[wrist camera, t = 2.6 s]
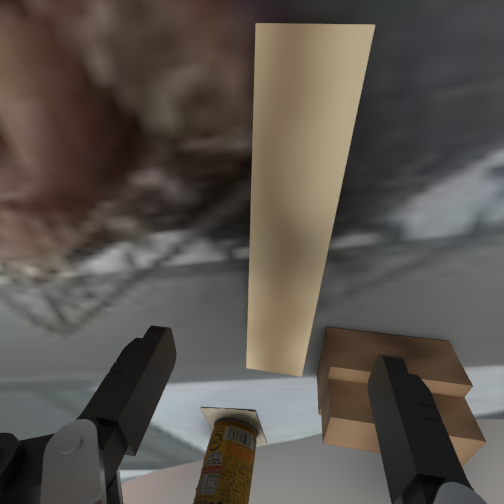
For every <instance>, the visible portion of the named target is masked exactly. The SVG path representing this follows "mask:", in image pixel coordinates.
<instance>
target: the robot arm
mask: <svg viewBox="0 0 504 504" xmlns="http://www.w3.org/2000/svg"><path fill="white" fill-rule="evenodd" d="M175 361H176V348H175V343H174V339H173V334H172V330H171V328H168V327H160V326H151V327H150V328H149V329H148V330H147V332H146V334H145V335H144V337H143V338H135V339H134V340H133V341H132V342H130V343H129V344H128V345H127V346H126V347H125V348H124V349H123V351H122V352H121V354H120V355H119V357H118V358H117V361H116V362H115V363H114V364H113V366H112V368H111V369H110V372H109V373H108V374H107V375H106V377H105V378H104V380H103V381H102V383H101V384H100V386H99V388H98V389H97V391H96V392H95V394H94V395H93V397H92V398H91V400H90V401H89V403H88V404H87V406H86V408H85V409H84V411H83V412H82V413H81V415H80V416H79V417H78V418H77V419H76V420H75V421H72V422H70V423H68V424H66V425H65V426H63V427H62V428H60V429H59V430H58V431H57V432H56V433H54V434H50V435H46V436H41V437H36V438H31V439H26V440H20V441H19V440H18V439H17V438H16V437H15V436H14V435H13V434H11V433H0V504H123V496H122V488H121V480H120V472H119V465H120V463H121V461H122V459H123V457H124V455H131V456H135V455H136V453H137V451H138V448H139V446H140V444H141V441H142V439H143V437H144V434H145V432H146V430H147V428H148V425H149V423H150V421H151V418H152V416H153V414H154V411H155V409H156V407H157V405H158V402H159V400H160V398H161V395H162V393H163V391H164V388H165V386H166V384H167V382H168V379H169V377H170V375H171V372H172V370H173V368H174V365H175ZM368 395H369V400H370V405H371V410H372V414H373V419H374V424H375V428H376V433H377V438H378V442H379V447H380V452H381V456H382V461H383V465H384V470H385V475H386V479H387V484H388V489H389V493H390V498H391V503H392V504H487V503H486V502H485V501H484V500H483V499H482V498H481V497H480V496H479V495H478V494H477V493H476V492H475V491H474V490H473V488H472V487H471V485H470V484H469V482H468V480H467V478H466V475H465V473H464V471H463V468H462V466H461V463H460V461H459V459H458V456H457V454H456V451H455V449H454V447H453V444H452V442H451V439H450V437H449V435H448V432H447V430H446V427H445V425H444V423H443V422H442V418H441V415H440V413H439V410H438V409H437V406H436V403H435V401H434V398H433V396H432V394H431V391H430V389H429V388H428V387H427V386H426V384H425V383H424V382H423V381H422V379H421V378H420V377H419V376H418V375H414V374H409V373H408V370H407V367H406V364H405V362H404V360H403V359H402V358H401V357H397V356H388V355H380V354H379V355H378V356H377V358H376V361H375V364H374V366H373V369H372V371H371V374H370V376H369V379H368Z"/></svg>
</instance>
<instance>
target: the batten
mask: <svg viewBox="0 0 504 504" xmlns="http://www.w3.org/2000/svg"><path fill="white" fill-rule="evenodd" d="M374 29H375V25H366V24H283V23H256V33H255V70H254V107H253V144H252V180H251V217H250V254H249V291H248V328H247V364H246V368H250V369H256V370H263V371H269V372H276V373H282V374H288V375H295V376H301V377H302V372H303V367H304V363H305V358H306V353H307V348H308V344H309V339H310V334H311V329H312V325H313V320H314V315H315V310H316V305H317V301H318V296H319V291H320V286H321V282H322V277H323V272H324V267H325V263H326V258H327V253H328V248H329V243H330V239H331V234H332V229H333V224H334V220H335V215H336V210H337V205H338V200H339V196H340V191H341V186H342V181H343V177H344V172H345V167H346V162H347V158H348V153H349V148H350V143H351V138H352V134H353V129H354V124H355V119H356V115H357V110H358V105H359V100H360V96H361V91H362V86H363V81H364V76H365V72H366V67H367V62H368V57H369V53H370V48H371V43H372V38H373V34H374Z"/></svg>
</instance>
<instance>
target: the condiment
mask: <svg viewBox="0 0 504 504" xmlns="http://www.w3.org/2000/svg"><path fill="white" fill-rule="evenodd" d="M201 410H202V412H203V414H204V416H205V418H206V420H207V421H208V423H209V425H210V426H211V428H212V430H213V432H212V434H211V438H210V440H209V444H208V447H207V451H206V456H205V458H204V463H203V467H202V471H201V476H200V480H199V483H198V486H197V488H196V495H195V499H194V503H193V504H248V501H249V495H250V488H251V480H252V473H253V466H254V458H255V450H256V444H257V445H267V443H266V440H265V437H264V434H263V431H262V428H261V427H260V423H259V420H258V418H257V416H256V412H252V411H248V410H236V409H224V408H219V409H217V408H201ZM220 416H221V417H220ZM219 417H220V418H219ZM250 422H251V423H250Z"/></svg>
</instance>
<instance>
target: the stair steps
mask: <svg viewBox="0 0 504 504" xmlns="http://www.w3.org/2000/svg"><path fill="white" fill-rule="evenodd" d="M379 354H380V355H388V356H397V357H401V358H402V359H403V360H404V362H405V364H406V367H407V370H408V373H409V374H414V375H418V376H419V377H420V378H421V379H422V381H423V382H424V383H425V384H426V386H427V387H428V388H429V389H430V391H431V394H432V396H433V398H434V401H435V403H436V406H437V409H438V410H439V413H440V415H441V418H442V422H443V423H444V425H445V427H446V430H447V432H448V435H449V437H450V439H451V442H452V444H453V447H454V449H455V451H456V454H457V456H458V459H459V461H460V463H461V466H463V465H464V464H465V463H466V462H467V461H468V460H469V459H470V458H471V457H472V456H473V455H474V454H475V453H476V452H477V451H478V450H479V449H480V448H481V446H482V445H484V444H485V443H486V440H485V438H484V436H483V434H482V432H481V430H480V428H479V426H478V424H477V422H476V420H475V418H474V416H473V414H472V412H471V410H470V408H469V406H468V404H467V402H466V400H465V398H464V397H465V396H466V395H467V393H468V392H469V391H470V389H471V388H472V387H473V385H472V383H471V381H470V380H469V378H468V376H467V374H466V372H465V370H464V369H463V367H462V365H461V363H460V361H459V359H458V358H457V356H456V354H455V352H454V350H453V348H452V346H451V345H450V343H449V341H441V340H433V339H424V338H415V337H407V336H398V335H390V334H381V333H373V332H364V331H356V330H347V329H339V328H330V327H327V329H326V334H325V339H324V344H323V348H322V353H321V358H320V363H319V367H318V372H317V387H318V410H319V415H321V416H322V436H323V444H328V445H334V446H340V447H346V448H352V449H358V450H363V451H369V452H375V453H381V452H380V447H379V442H378V438H377V433H376V428H375V424H374V419H373V414H372V410H371V405H370V400H369V395H368V379H369V376H370V374H371V371H372V369H373V366H374V364H375V361H376V358H377V356H378V355H379Z"/></svg>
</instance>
